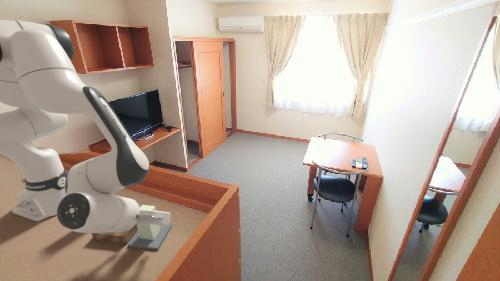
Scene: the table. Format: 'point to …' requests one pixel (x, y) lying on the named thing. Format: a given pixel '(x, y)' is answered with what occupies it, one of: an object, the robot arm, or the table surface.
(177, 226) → the table surface
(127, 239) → the walnut puzzle board
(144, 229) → the sage block
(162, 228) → the slate rubber pad
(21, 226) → the table surface
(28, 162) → the robot arm
